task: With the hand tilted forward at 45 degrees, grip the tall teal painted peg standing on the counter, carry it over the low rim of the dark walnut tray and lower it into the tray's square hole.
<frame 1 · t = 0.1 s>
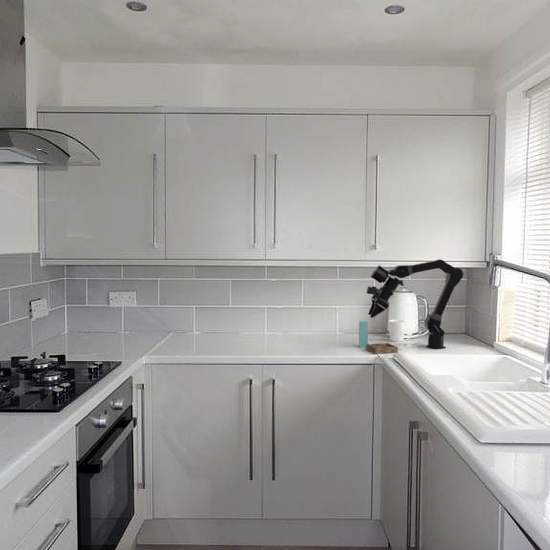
hand: (370, 316, 246), 15 cm above the worktop, tool tilted 35°, fingers open, 9 cm apart
white cup: (396, 340, 263), on the worktop
peg: (363, 346, 247), on the worktop
tray: (381, 351, 238), on the worktop
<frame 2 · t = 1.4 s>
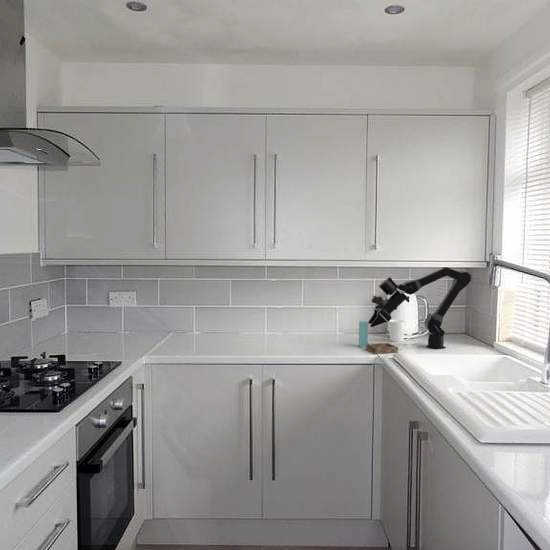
hand: (369, 324, 246), 11 cm above the worktop, tool tilted 45°, fingers open, 9 cm apart
nothing on the worktop moved.
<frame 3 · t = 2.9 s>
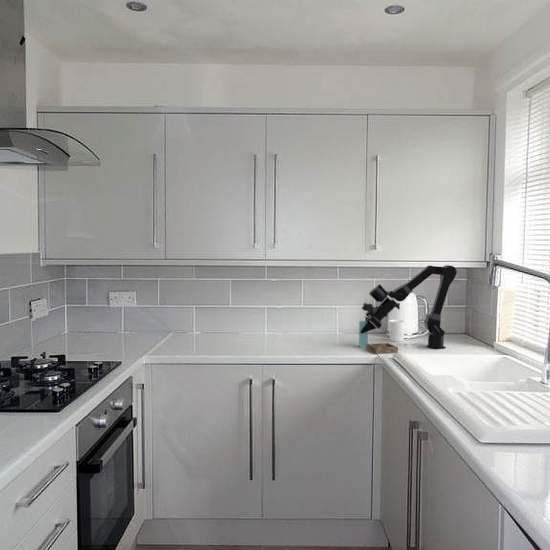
hand: (360, 332, 247), 7 cm above the worktop, tool tilted 45°, fingers closed on peg, 4 cm apart
peg: (363, 346, 247), on the worktop, touching gripper
everything else where it was.
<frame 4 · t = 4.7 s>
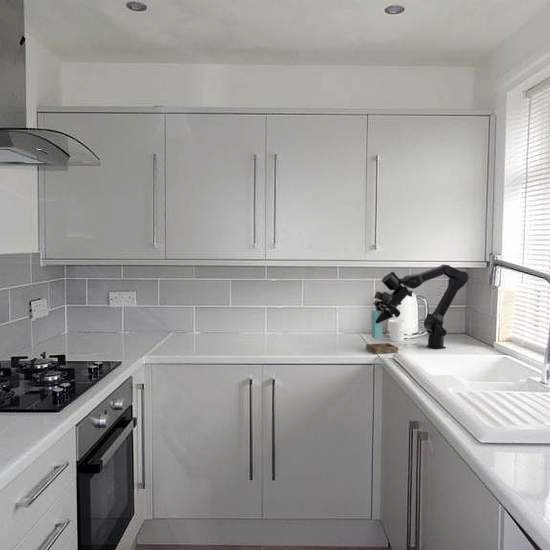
hand: (374, 322, 237), 13 cm above the worktop, tool tilted 45°, fingers closed on peg, 4 cm apart
peg: (376, 337, 238), point 6 cm above the worktop, touching gripper
everything else where it was.
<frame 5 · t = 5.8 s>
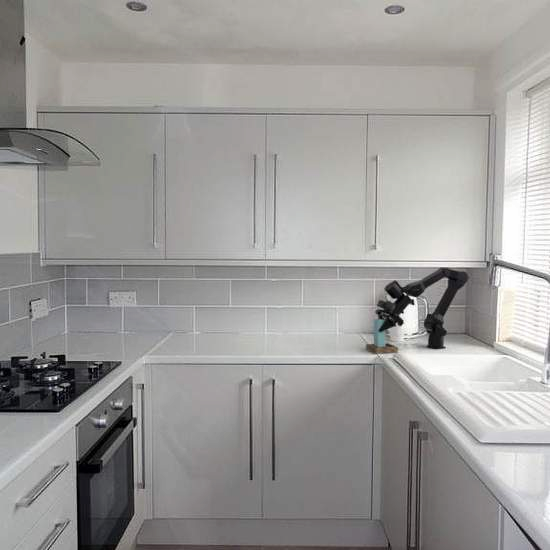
hand: (376, 330, 236), 10 cm above the worktop, tool tilted 45°, fingers closed on peg, 4 cm apart
peg: (379, 346, 237), point 2 cm above the worktop, touching gripper
everything else where it was.
when the fingers open (8 cm above the worktop, at t = 6.5 s): peg stays where it is, resting in tray.
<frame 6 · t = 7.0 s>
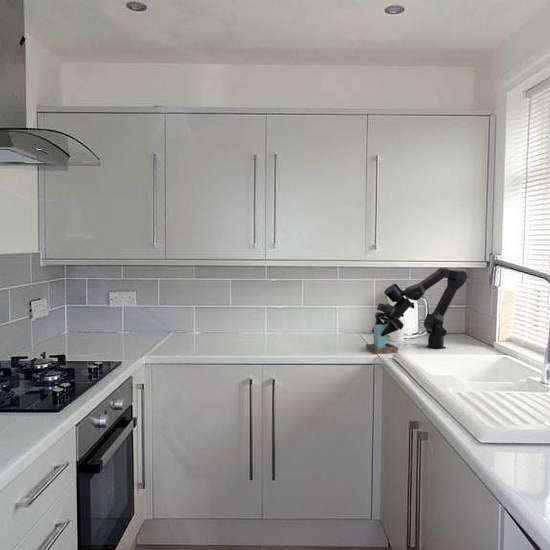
hand: (376, 333, 236), 8 cm above the worktop, tool tilted 45°, fingers open, 9 cm apart
peg: (379, 351, 237), resting in tray
everything else where it was.
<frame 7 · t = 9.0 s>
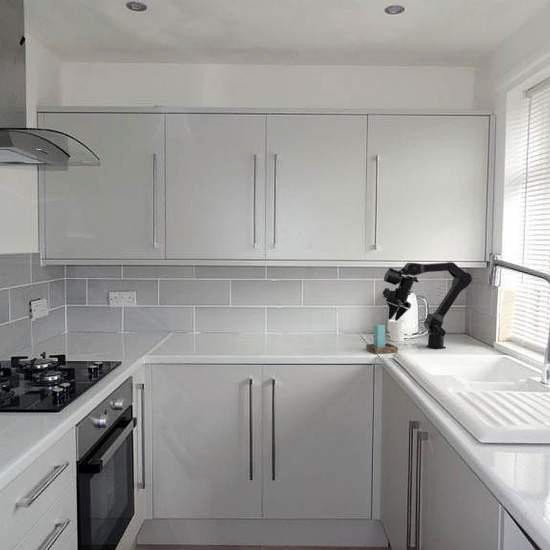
hand: (392, 319, 243), 13 cm above the worktop, tool tilted 20°, fingers open, 9 cm apart
nothing on the worktop moved.
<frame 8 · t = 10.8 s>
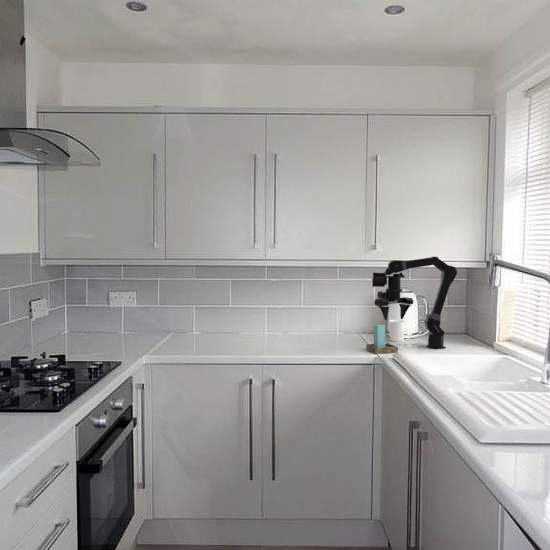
hand: (393, 319, 246), 13 cm above the worktop, tool pointing down, fingers open, 9 cm apart
nothing on the worktop moved.
at the end: peg 0.0 cm from the target spot on the tray, point 0.0 cm above the tray's base; peg tilted 0°; the gripper is holding nothing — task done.
